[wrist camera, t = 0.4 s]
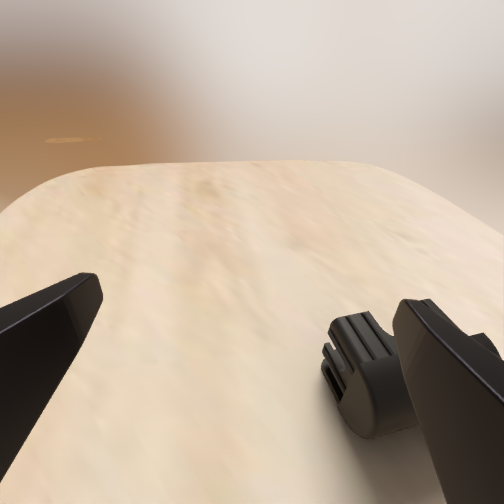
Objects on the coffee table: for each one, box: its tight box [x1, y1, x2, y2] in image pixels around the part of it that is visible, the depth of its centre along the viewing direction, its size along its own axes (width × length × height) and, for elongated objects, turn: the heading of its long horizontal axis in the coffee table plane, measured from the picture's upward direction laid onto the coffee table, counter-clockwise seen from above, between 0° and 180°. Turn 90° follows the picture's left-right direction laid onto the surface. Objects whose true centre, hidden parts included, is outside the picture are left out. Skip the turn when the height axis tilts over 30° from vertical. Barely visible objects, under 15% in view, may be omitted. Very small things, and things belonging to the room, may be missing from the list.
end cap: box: [321, 299, 502, 439], centre depth 22 cm, size 10×7×7 cm
